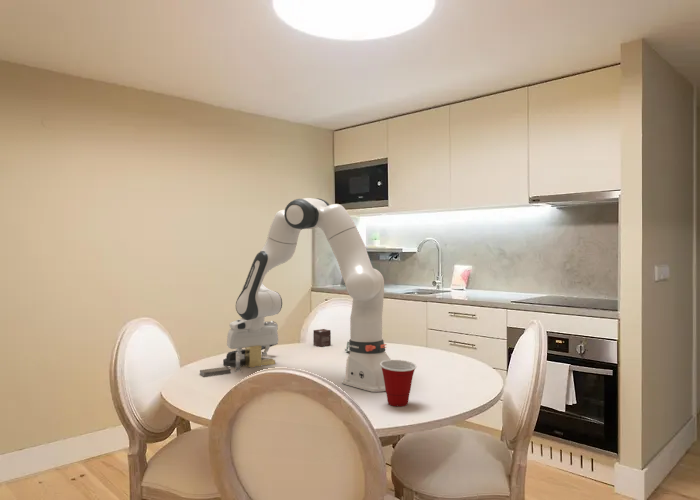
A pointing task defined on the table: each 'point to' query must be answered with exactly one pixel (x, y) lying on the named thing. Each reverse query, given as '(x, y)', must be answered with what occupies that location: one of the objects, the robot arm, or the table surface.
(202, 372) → the fixed leaf
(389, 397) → the plastic cup
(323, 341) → the box
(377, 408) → the table surface
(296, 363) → the table surface
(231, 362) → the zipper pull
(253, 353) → the tan l-shaped bracket
